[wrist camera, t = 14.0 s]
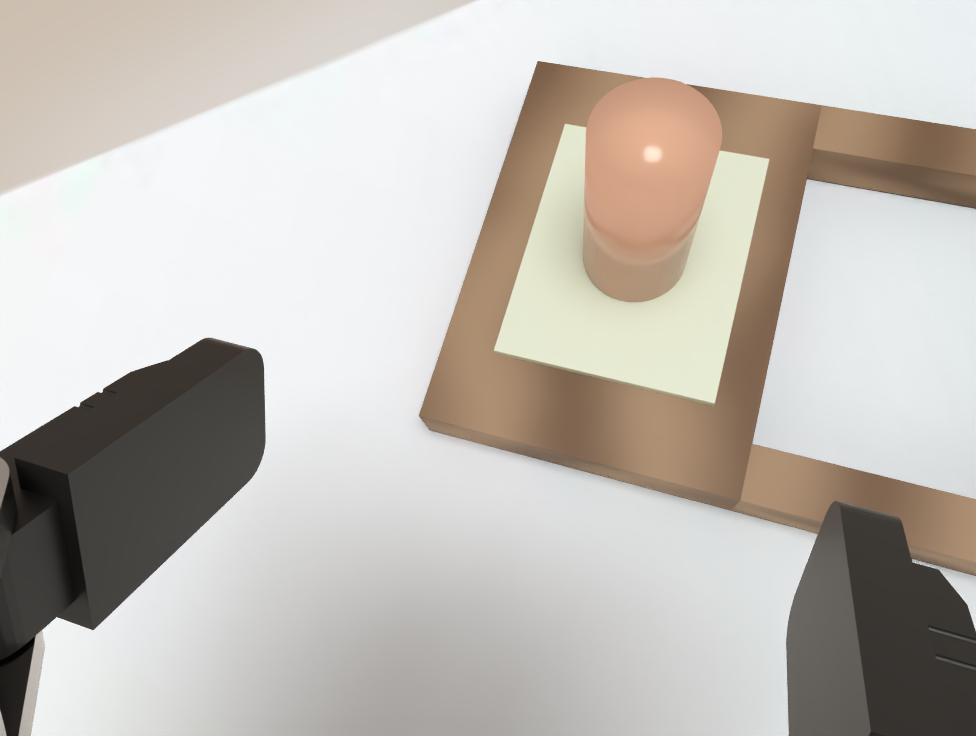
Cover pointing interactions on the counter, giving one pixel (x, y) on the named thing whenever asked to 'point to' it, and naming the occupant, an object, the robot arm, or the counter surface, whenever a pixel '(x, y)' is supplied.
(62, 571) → the robot arm
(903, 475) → the counter surface
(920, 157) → the hole board
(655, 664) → the counter surface
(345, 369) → the counter surface
